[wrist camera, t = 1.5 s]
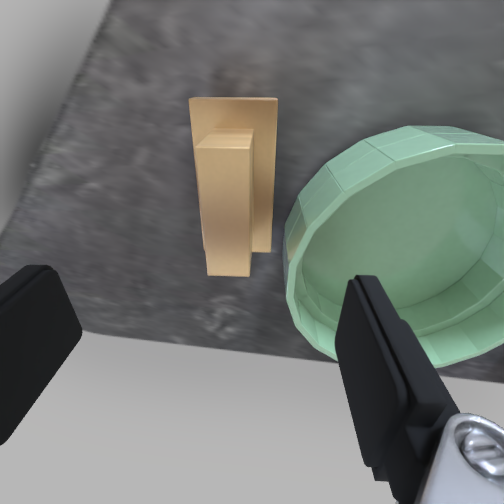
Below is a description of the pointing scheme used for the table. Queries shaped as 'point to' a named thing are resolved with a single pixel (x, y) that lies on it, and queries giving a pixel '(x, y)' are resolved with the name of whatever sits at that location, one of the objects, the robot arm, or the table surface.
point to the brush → (234, 178)
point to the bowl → (405, 238)
